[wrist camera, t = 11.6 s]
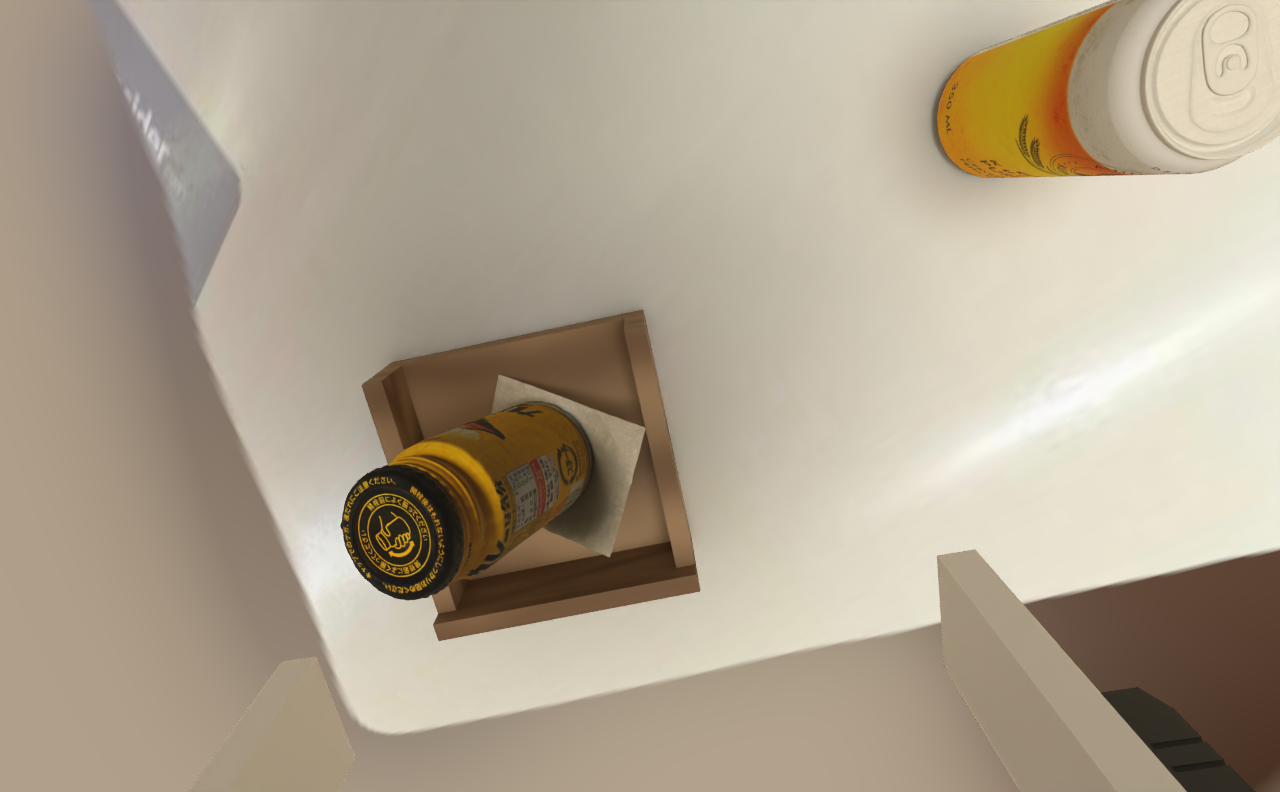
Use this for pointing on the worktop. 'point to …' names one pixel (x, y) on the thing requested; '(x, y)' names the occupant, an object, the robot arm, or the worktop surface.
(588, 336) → the wooden serving tray
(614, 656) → the worktop surface
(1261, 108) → the beer can
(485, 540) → the condiment
